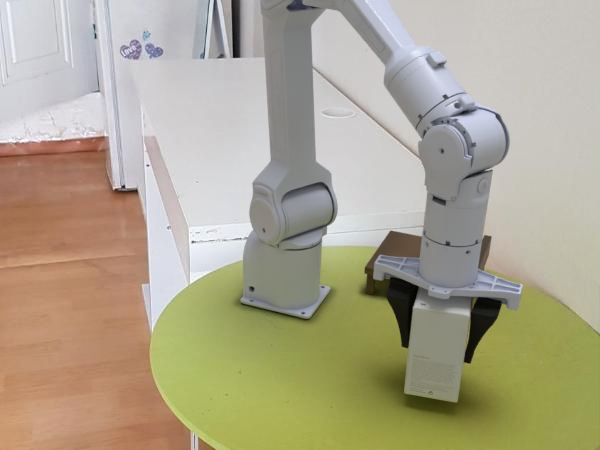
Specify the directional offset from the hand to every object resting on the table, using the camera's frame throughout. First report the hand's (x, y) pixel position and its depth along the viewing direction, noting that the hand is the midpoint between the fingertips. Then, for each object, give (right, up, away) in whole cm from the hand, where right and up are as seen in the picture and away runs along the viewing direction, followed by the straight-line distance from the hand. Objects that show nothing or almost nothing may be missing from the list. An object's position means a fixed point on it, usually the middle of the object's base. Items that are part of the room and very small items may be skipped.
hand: (437, 350), depth 78 cm
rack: (+3, +5, +23) cm, 23 cm away
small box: (0, -3, +2) cm, 4 cm away
